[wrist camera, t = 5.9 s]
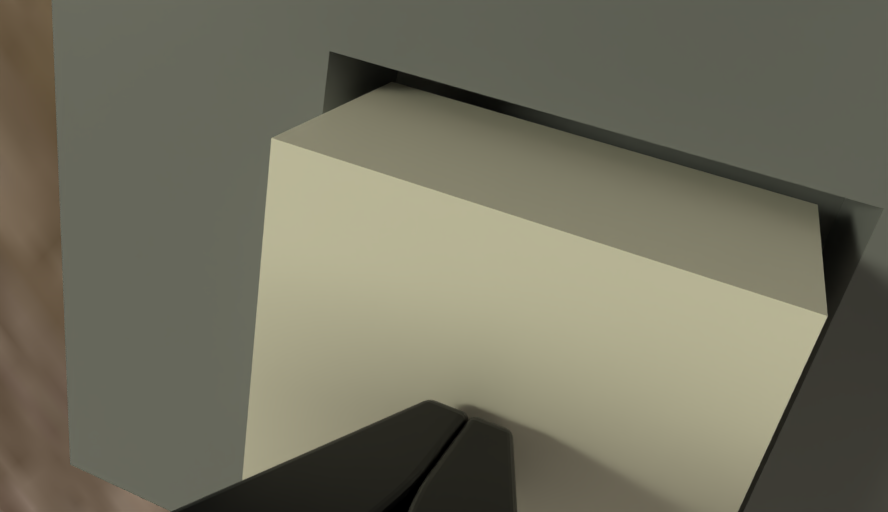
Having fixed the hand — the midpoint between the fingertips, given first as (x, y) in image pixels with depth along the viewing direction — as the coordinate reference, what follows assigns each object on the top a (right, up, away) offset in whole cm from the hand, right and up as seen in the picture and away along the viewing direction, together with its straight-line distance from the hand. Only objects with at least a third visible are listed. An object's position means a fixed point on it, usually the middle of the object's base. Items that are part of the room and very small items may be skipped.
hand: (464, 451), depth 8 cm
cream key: (+1, +1, +2) cm, 3 cm away
